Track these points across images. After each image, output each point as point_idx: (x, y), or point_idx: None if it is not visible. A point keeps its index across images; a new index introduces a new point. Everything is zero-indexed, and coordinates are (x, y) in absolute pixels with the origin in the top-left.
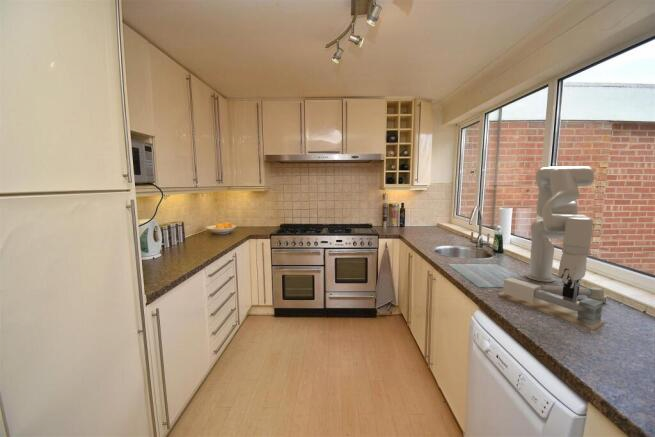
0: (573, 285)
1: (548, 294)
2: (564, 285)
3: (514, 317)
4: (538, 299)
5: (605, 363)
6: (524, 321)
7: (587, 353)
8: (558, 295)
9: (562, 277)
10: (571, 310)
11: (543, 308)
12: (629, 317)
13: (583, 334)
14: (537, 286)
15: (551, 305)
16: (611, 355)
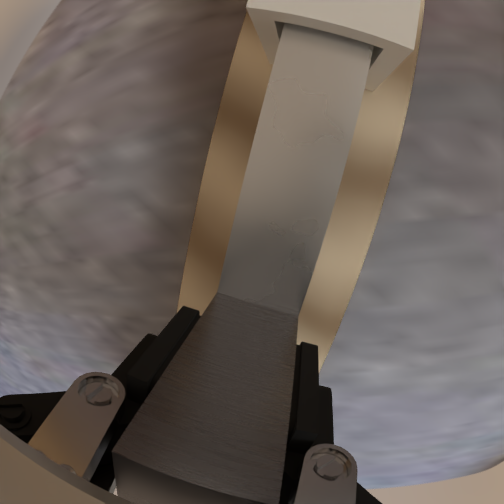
0: (112, 479)
1: (260, 156)
2: (63, 393)
3: (36, 85)
4: (365, 84)
5: (4, 361)
6: (28, 130)
7: (4, 334)
8: (309, 246)
9: (38, 460)
10: (343, 296)
11: (228, 144)
12: (443, 453)
13: (95, 339)
14: (371, 22)
15: (344, 177)
16: (43, 384)
